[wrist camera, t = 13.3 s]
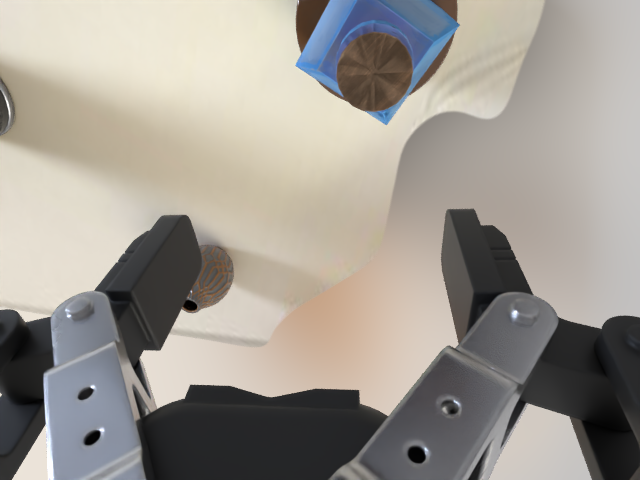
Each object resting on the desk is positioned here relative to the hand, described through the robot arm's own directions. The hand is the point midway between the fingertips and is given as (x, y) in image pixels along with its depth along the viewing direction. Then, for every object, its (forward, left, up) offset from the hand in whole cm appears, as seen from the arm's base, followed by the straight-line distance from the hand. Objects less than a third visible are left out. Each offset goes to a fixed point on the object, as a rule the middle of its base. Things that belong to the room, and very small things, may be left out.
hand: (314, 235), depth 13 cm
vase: (+4, -30, -30) cm, 43 cm away
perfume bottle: (-1, +3, -20) cm, 20 cm away
